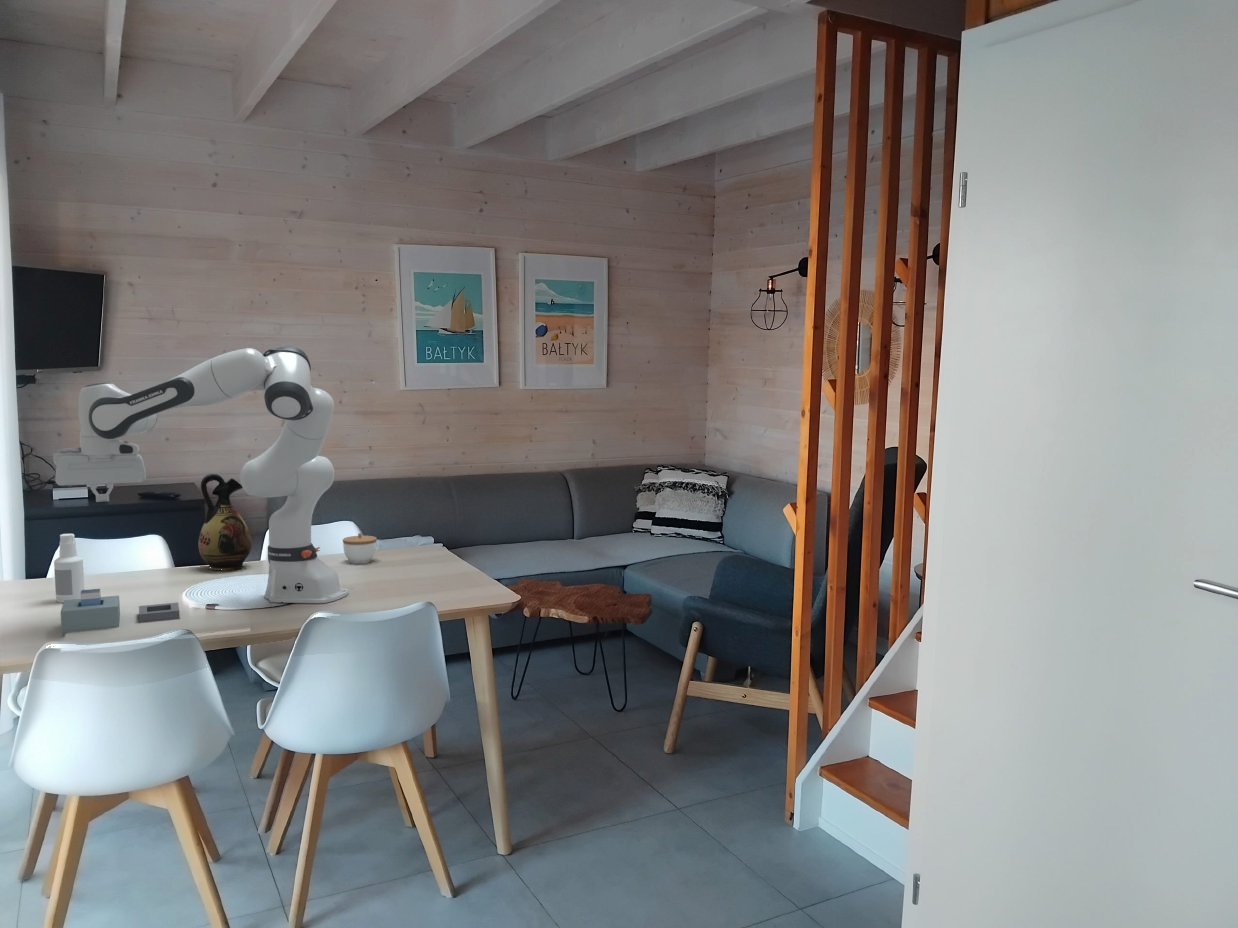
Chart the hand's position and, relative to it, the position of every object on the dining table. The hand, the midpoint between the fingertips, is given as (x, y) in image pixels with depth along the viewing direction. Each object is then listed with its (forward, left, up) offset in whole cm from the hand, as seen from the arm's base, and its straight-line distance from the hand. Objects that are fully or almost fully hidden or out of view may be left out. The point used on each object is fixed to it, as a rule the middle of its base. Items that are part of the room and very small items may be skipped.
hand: (102, 501), depth 243 cm
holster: (-17, +2, -29) cm, 34 cm away
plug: (-6, +12, -29) cm, 32 cm away
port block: (-6, +12, -29) cm, 32 cm away
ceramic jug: (+6, -55, -29) cm, 63 cm away
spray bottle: (+20, -9, -29) cm, 37 cm away
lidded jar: (-30, -76, -29) cm, 87 cm away
